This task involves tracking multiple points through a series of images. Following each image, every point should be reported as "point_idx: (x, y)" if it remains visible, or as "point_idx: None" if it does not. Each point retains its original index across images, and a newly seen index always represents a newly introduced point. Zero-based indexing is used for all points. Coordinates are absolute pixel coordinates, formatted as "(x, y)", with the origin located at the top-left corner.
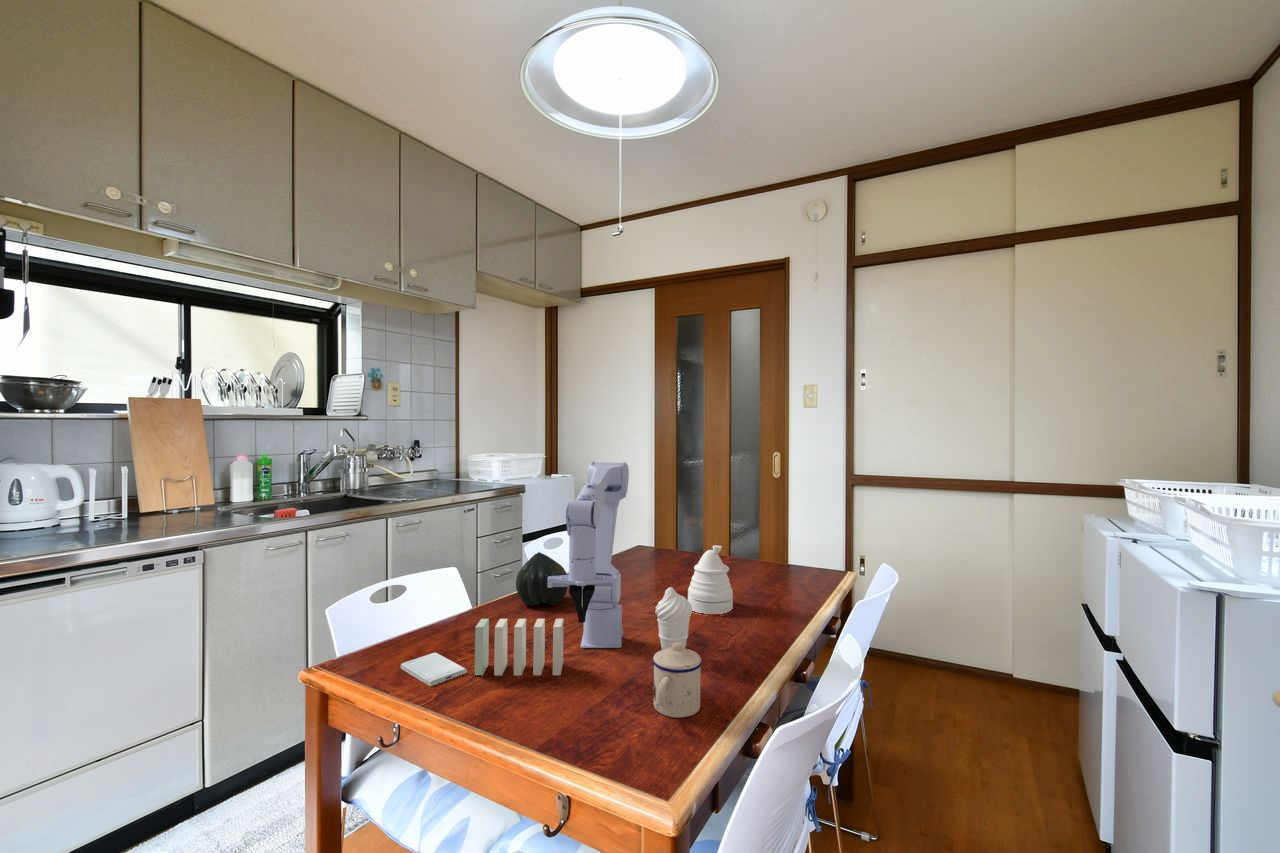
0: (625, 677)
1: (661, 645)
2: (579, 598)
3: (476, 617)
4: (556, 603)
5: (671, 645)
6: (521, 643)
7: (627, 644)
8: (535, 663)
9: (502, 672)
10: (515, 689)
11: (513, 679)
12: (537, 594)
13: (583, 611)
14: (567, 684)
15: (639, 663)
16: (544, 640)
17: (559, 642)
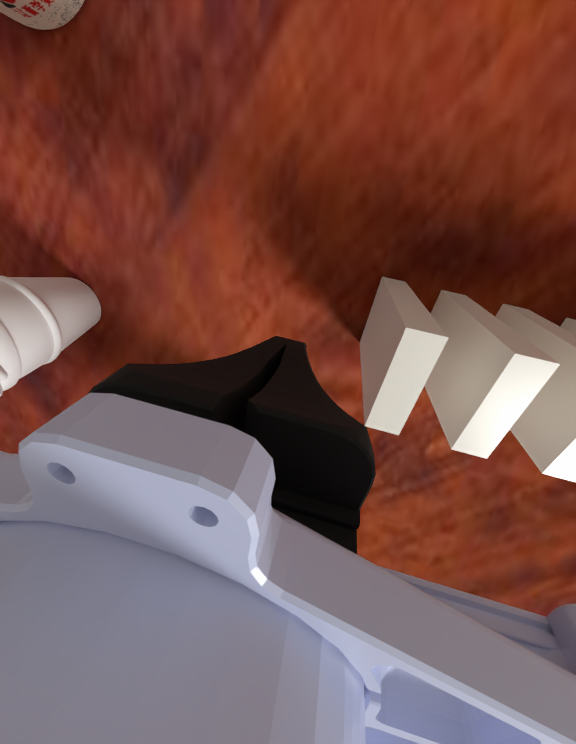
0: (195, 216)
1: (74, 314)
2: (272, 389)
3: None
4: None
5: (31, 282)
6: (569, 344)
7: None
8: (471, 304)
9: (566, 325)
10: (567, 195)
11: (540, 280)
12: None
13: (266, 351)
14: (374, 200)
15: (158, 299)
16: (429, 390)
17: (400, 304)
